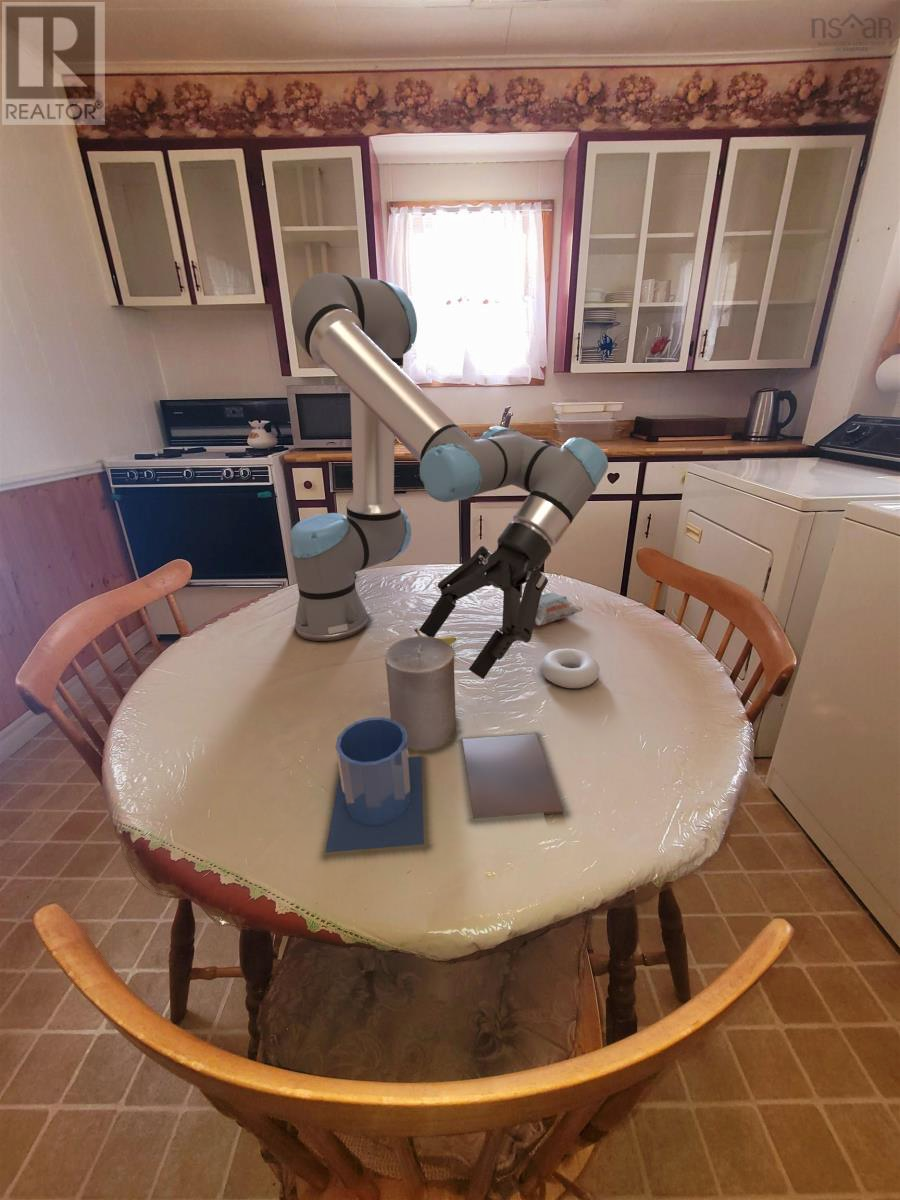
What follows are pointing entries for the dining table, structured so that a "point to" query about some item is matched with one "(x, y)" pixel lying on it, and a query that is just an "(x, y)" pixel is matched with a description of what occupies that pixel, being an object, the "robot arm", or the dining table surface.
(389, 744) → the blue cup
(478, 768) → the gray board
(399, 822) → the blue mat
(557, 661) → the donut
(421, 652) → the pillar candle
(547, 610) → the packaged food
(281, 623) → the dining table surface
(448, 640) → the banana
